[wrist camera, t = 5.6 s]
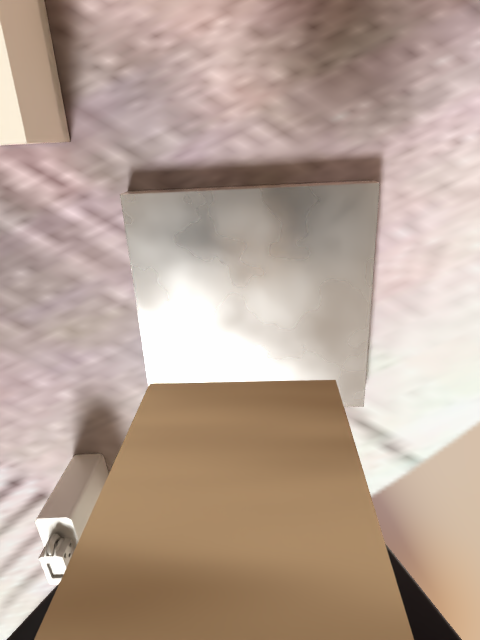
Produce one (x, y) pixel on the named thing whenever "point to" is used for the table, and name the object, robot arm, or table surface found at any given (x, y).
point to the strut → (232, 525)
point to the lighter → (69, 512)
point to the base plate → (255, 282)
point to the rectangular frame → (29, 77)
